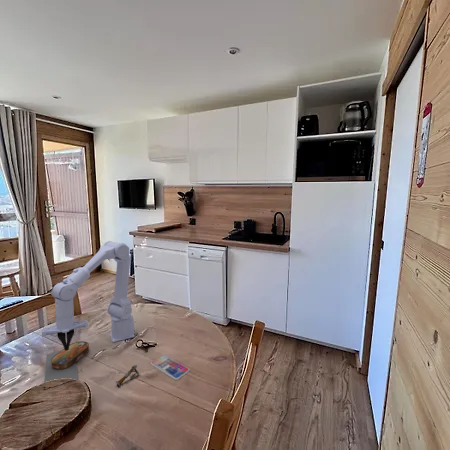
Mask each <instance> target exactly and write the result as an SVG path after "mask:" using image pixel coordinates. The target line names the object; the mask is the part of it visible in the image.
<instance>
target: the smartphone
mask: <svg viewBox="0 0 450 450" xmlns="http://www.w3.org/2000/svg"><path fill="white" fill-rule="evenodd" d="M150 365H151V366H152V367H153V368H155V369H157V370H158V371H160V372H161V373H163V374H165V375H166V376H167V377H169V378H171V379H172V380H174V381H178V380H180V379H182V378H183V377H184V376H185V374H186V375H187V374H189V372H190V371H191V370H190V369H191V368H189V367H187V366H186V365H183V364H182V363H181V362H178V361H177V360H175V359H173V358H171V357H170V356H168V355H166V354H163V355H161V356H160V357H158V358H156V359H154V360H152V361H151V362H150Z"/></svg>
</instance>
